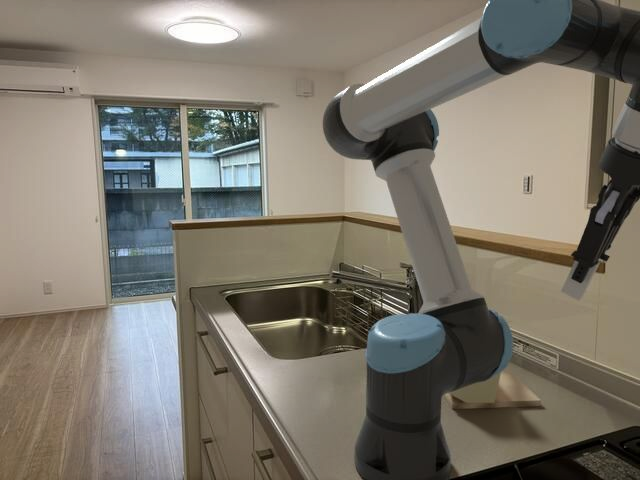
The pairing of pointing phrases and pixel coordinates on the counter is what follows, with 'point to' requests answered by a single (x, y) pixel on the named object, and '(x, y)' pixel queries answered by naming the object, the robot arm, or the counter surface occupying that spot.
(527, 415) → the counter surface
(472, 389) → the milk carton
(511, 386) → the board
